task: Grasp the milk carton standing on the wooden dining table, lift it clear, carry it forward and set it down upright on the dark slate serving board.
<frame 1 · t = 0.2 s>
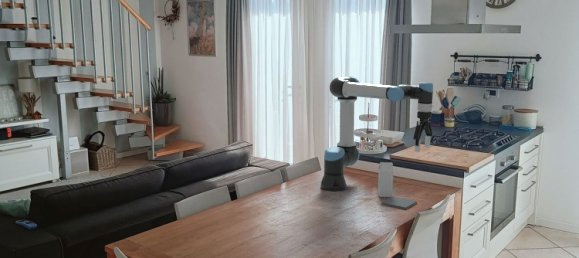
hand: (422, 149, 286), 27 cm above the table, fingers open, 13 cm apart
slate board: (399, 203, 280), on the table
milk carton: (384, 195, 295), on the table
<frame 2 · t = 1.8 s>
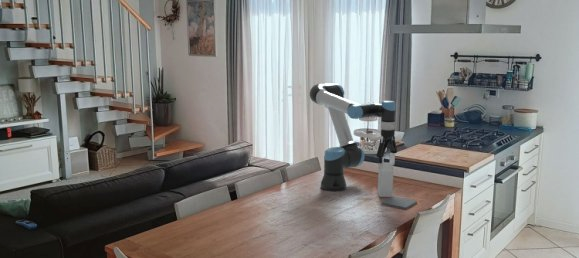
hand: (386, 166, 291), 17 cm above the table, fingers open, 13 cm apart
nothing on the table moved.
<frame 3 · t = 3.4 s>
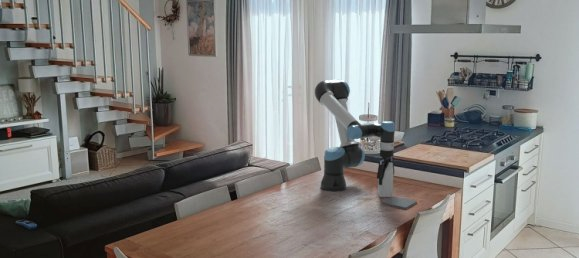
hand: (385, 188, 294), 4 cm above the table, fingers closed on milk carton, 10 cm apart
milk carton: (384, 195, 295), on the table, touching gripper
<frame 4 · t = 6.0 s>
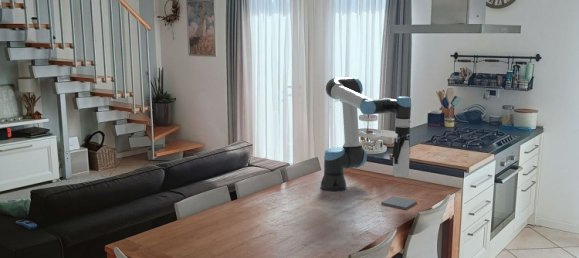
hand: (400, 167, 277), 20 cm above the table, fingers closed on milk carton, 10 cm apart
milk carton: (400, 175, 277), point 15 cm above the table, touching gripper
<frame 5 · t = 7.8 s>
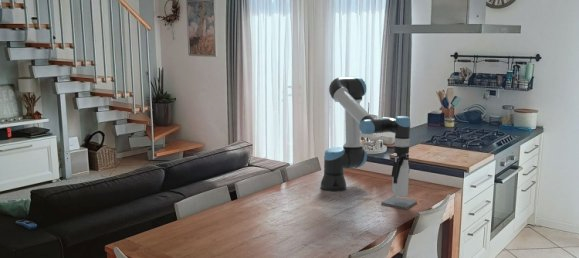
hand: (400, 186, 278), 9 cm above the table, fingers closed on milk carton, 10 cm apart
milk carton: (399, 194, 279), point 5 cm above the table, touching gripper
when the fingers open (7 cm above the table, at t = 8.9 s): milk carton drops 1 cm, resting on slate board.
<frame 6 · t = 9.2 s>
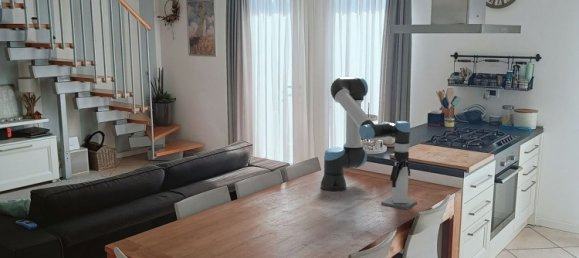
hand: (399, 190, 278), 8 cm above the table, fingers open, 12 cm apart
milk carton: (399, 201, 280), point 1 cm above the table, touching slate board
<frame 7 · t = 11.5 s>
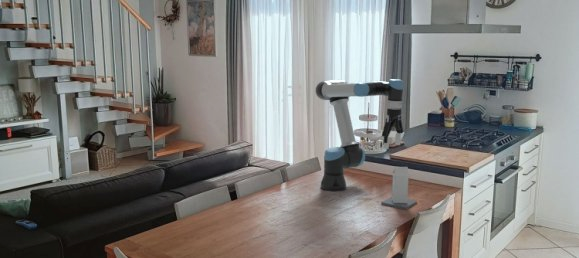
hand: (391, 146, 285), 29 cm above the table, fingers open, 13 cm apart
nothing on the table moved.
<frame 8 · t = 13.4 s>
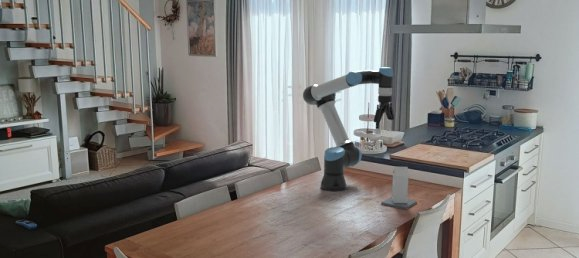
hand: (383, 132, 296), 35 cm above the table, fingers open, 13 cm apart
nothing on the table moved.
at the end: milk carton inside the target area on the slate board (0.2 cm from its centre), point 1.0 cm above the slate board's base; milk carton tilted 0°; the gripper is holding nothing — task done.
